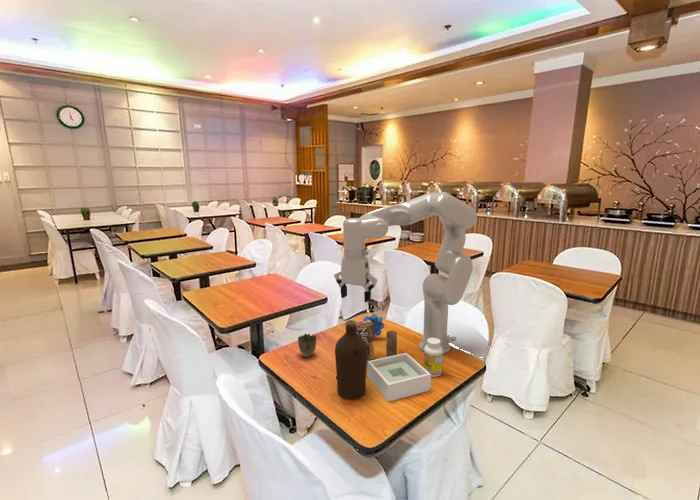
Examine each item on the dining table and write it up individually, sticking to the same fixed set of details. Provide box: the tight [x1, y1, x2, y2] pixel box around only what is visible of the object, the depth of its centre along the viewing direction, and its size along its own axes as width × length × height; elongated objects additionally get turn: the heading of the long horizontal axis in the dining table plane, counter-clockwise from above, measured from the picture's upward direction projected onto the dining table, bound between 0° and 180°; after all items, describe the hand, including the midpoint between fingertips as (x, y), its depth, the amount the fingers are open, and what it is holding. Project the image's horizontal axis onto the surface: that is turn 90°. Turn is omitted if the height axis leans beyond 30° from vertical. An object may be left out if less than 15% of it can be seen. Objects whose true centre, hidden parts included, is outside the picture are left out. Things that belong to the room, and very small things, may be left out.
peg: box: [385, 330, 398, 357], centre depth 138 cm, size 4×4×12 cm
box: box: [366, 352, 432, 403], centre depth 124 cm, size 16×16×6 cm
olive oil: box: [334, 319, 367, 401], centre depth 118 cm, size 11×11×25 cm
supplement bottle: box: [422, 338, 444, 378], centre depth 130 cm, size 7×7×13 cm
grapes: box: [362, 313, 385, 339], centre depth 158 cm, size 12×7×12 cm, turn 93°
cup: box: [297, 333, 317, 358], centre depth 144 cm, size 8×7×8 cm
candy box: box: [355, 320, 375, 361], centre depth 140 cm, size 9×4×15 cm, turn 116°
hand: (355, 299), depth 131 cm, fingers open, 9 cm apart
